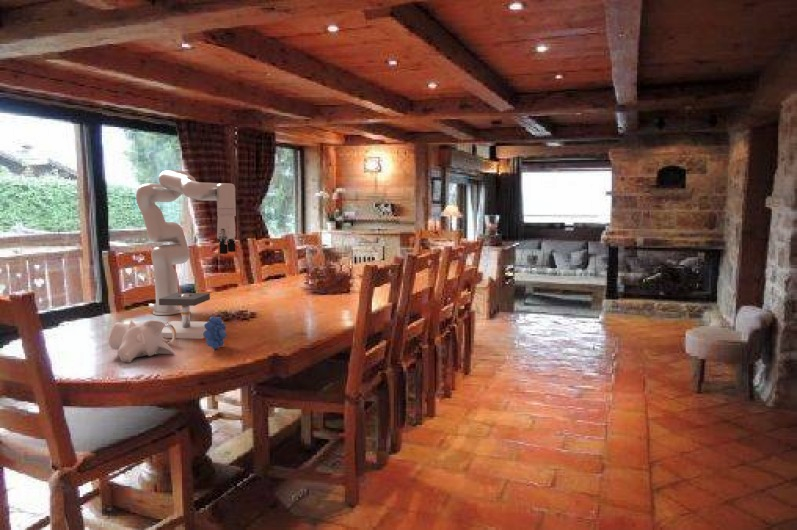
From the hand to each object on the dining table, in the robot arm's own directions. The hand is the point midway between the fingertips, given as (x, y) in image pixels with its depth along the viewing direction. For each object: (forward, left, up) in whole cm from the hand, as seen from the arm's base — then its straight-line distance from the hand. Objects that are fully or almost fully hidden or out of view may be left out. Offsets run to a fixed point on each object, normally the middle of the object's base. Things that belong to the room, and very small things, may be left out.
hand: (227, 252), depth 234 cm
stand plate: (-9, -21, -30) cm, 38 cm away
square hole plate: (-9, -21, -18) cm, 29 cm away
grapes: (+14, -45, -30) cm, 56 cm away
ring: (-7, -40, -30) cm, 51 cm away
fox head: (-8, -57, -30) cm, 65 cm away
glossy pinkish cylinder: (-9, -21, -28) cm, 36 cm away
